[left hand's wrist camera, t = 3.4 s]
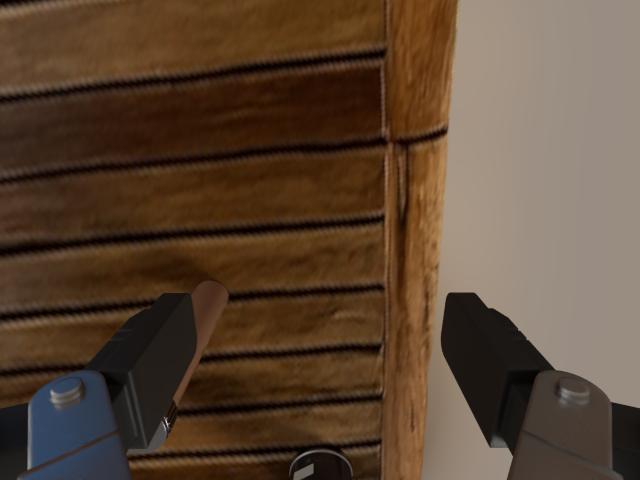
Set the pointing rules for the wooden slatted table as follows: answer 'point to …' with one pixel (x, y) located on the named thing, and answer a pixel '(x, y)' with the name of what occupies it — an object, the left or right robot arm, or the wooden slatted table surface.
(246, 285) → the wooden slatted table surface
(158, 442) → the lid
